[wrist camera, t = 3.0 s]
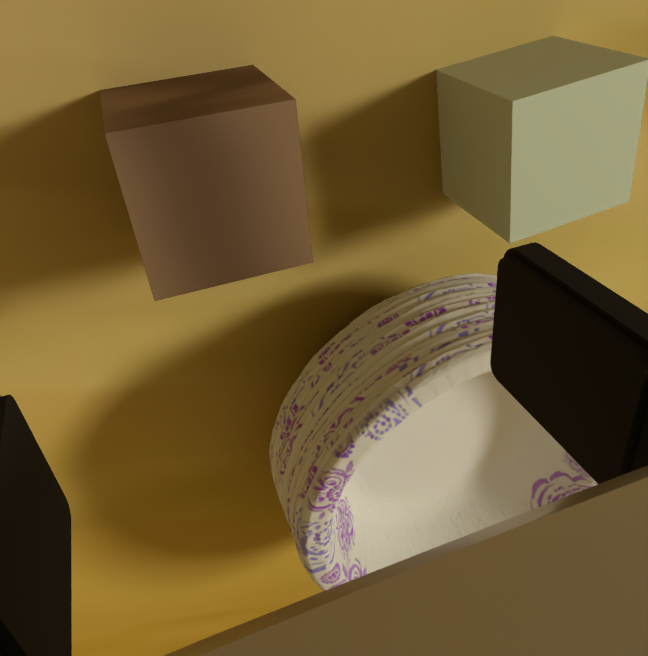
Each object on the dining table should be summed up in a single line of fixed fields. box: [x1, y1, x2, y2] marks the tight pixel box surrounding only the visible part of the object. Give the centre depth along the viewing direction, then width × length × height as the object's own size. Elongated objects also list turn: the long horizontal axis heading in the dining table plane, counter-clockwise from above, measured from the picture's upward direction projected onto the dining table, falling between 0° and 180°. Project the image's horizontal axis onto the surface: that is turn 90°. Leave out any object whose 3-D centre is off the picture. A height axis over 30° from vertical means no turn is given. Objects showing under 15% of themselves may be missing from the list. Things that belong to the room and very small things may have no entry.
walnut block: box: [99, 65, 313, 301], centre depth 19 cm, size 5×5×5 cm
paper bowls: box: [269, 274, 598, 591], centre depth 27 cm, size 15×15×8 cm
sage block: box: [436, 36, 648, 243], centre depth 22 cm, size 5×5×5 cm
